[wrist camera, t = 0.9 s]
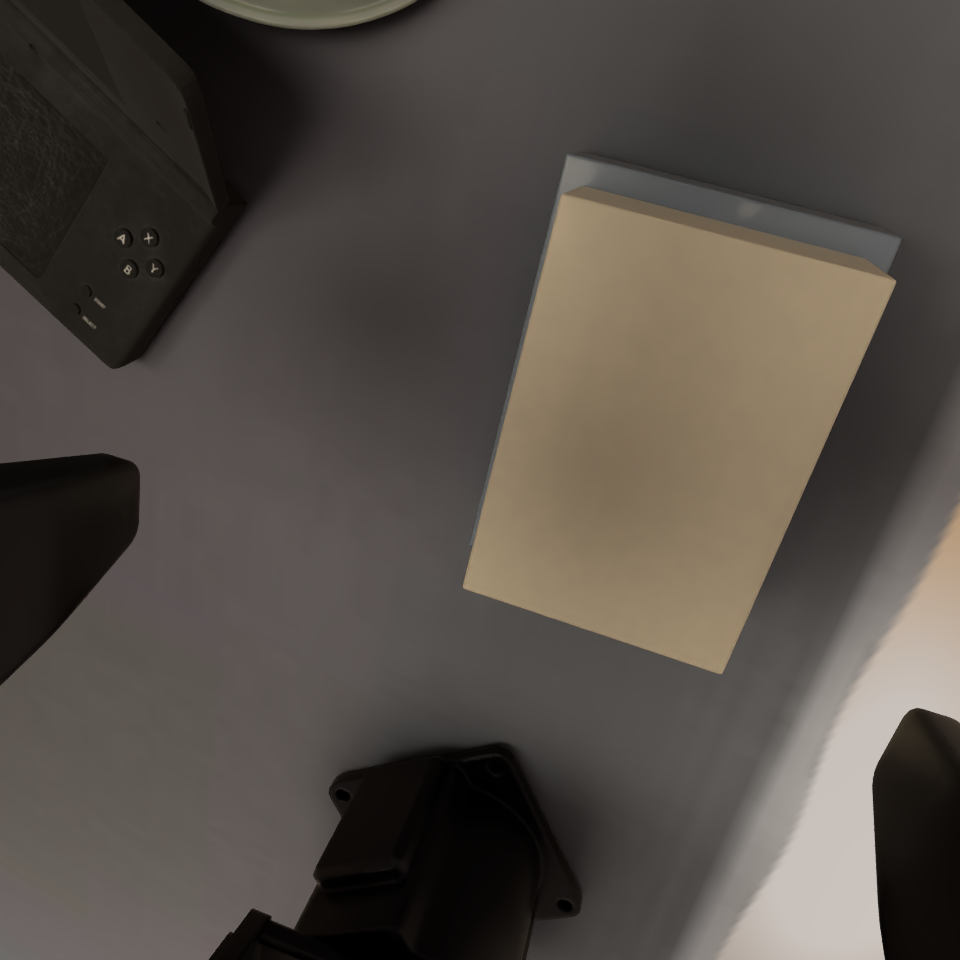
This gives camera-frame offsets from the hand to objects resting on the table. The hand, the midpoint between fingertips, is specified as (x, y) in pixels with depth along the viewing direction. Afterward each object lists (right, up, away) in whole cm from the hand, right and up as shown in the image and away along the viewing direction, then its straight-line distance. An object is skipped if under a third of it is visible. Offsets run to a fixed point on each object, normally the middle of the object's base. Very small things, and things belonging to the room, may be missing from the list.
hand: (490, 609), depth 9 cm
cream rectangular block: (+4, +3, +8) cm, 9 cm away
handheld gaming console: (-10, +11, +11) cm, 19 cm away
